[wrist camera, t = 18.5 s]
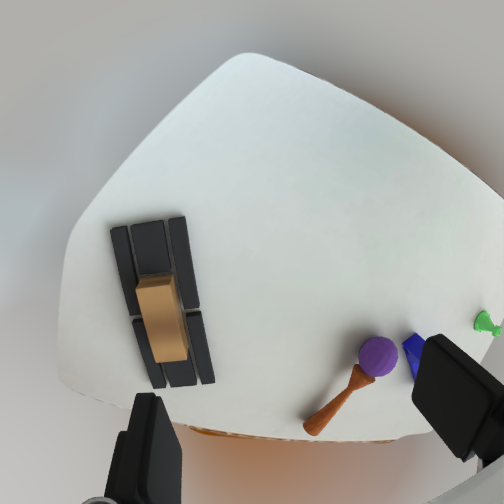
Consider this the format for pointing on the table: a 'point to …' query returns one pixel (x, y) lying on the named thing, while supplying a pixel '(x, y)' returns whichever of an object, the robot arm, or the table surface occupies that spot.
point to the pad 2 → (178, 370)
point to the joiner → (163, 317)
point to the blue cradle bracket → (413, 352)
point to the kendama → (358, 378)
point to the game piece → (486, 324)
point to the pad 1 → (154, 258)
